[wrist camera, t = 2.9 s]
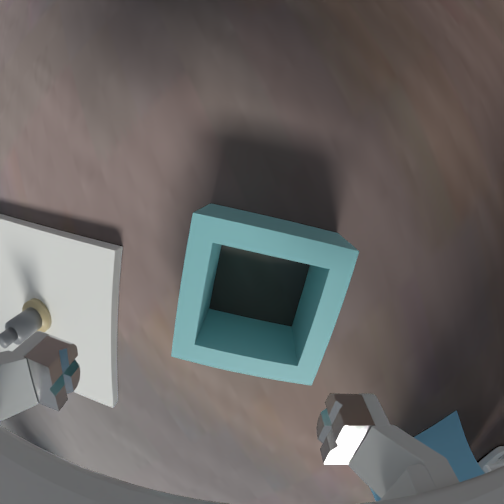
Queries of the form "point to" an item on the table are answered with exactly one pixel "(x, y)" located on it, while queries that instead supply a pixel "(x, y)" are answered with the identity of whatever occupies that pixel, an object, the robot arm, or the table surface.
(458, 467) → the vase
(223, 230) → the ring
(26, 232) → the post stand
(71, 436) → the table surface
